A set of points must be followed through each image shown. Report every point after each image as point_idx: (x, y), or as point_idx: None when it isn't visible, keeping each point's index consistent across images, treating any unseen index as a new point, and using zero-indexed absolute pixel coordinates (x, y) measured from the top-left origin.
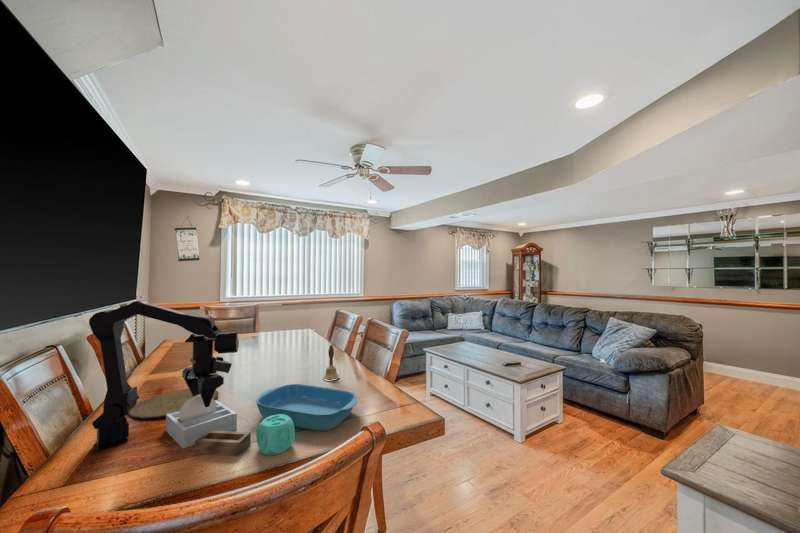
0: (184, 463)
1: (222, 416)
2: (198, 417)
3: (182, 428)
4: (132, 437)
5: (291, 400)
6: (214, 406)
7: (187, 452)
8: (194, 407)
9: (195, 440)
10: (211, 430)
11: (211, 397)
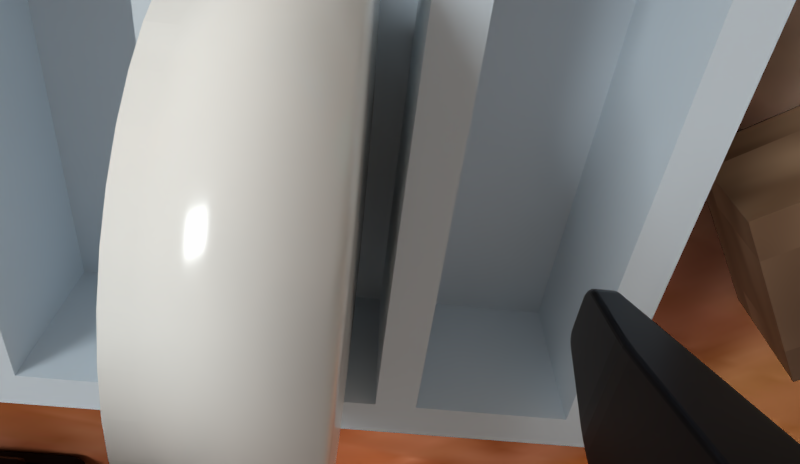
0: (784, 380)
1: (758, 21)
2: (412, 246)
3: (553, 439)
4: (16, 423)
5: None
6: (368, 1)
7: (660, 318)
8: (339, 383)
9: (794, 378)
10: (779, 209)
11: (785, 457)
